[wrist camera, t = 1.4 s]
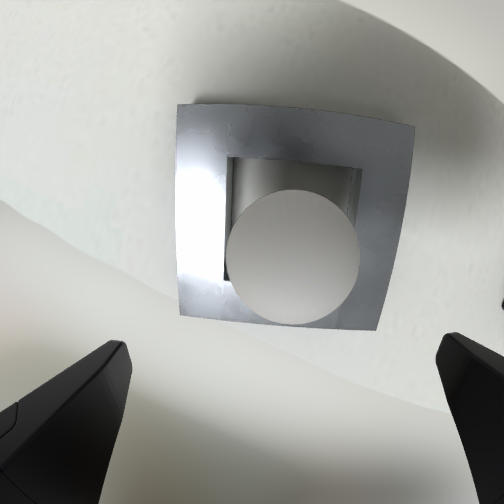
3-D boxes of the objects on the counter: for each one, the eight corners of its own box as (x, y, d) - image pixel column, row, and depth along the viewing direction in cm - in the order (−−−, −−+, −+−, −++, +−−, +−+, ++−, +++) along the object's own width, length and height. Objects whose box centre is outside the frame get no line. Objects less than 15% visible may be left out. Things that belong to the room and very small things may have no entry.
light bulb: (259, 158, 19) (240, 182, 10) (346, 189, 19) (402, 241, 10) (233, 242, 21) (198, 327, 12) (314, 268, 21) (334, 366, 12)
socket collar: (399, 127, 17) (414, 126, 15) (368, 311, 22) (375, 330, 20) (189, 107, 18) (177, 104, 16) (189, 297, 23) (179, 315, 21)
